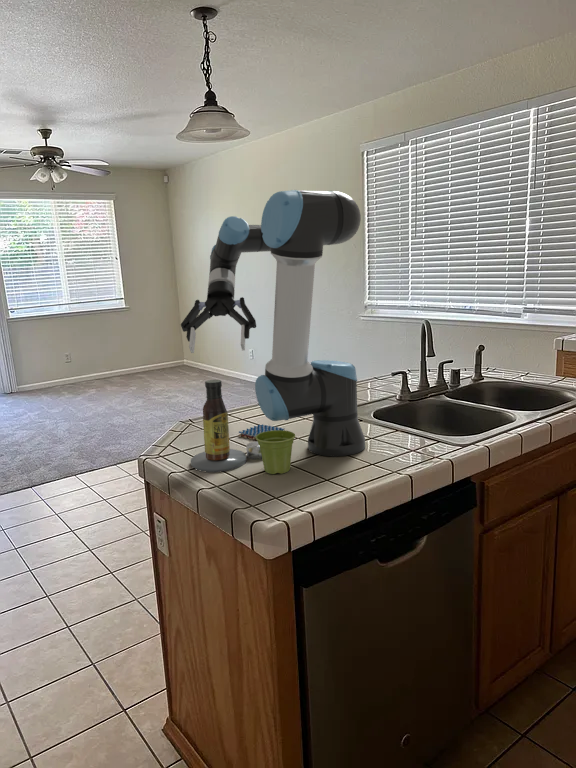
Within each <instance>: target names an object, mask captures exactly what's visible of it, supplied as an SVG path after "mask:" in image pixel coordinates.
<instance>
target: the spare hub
mask: <svg viewBox="0 0 576 768" xmlns="http://www.w3.org/2000/svg"><path fill="white" fill-rule="evenodd" d="M245 448H246V458H248V459H251V460H262V455H261V450H260V446H259V444H258V441H257V440H255V441H252V442H249V443H247V444H246V445H245Z"/></svg>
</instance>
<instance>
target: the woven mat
mask: <svg viewBox="0 0 576 768" xmlns="http://www.w3.org/2000/svg"><path fill="white" fill-rule="evenodd" d="M273 430H285V431H286V429H285V428H282V427H279V426H272V425H267V424H264V423H263V424H257V425H254V426H253V427H250V428H246V429H243V430H242V431H238V433H239V434H238V438H245V439H248V440H254V441H257V440H256V435H258V434H259V433H262V432H266V431H273Z"/></svg>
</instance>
